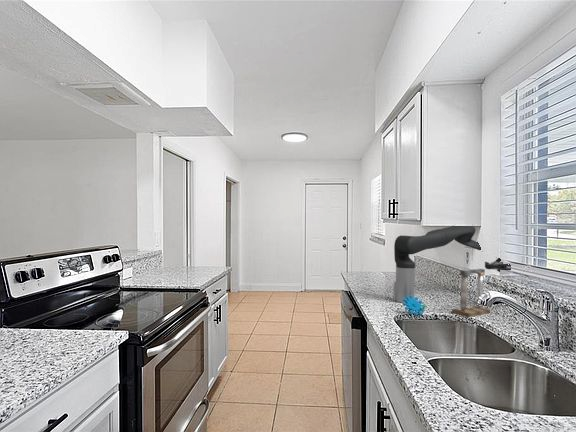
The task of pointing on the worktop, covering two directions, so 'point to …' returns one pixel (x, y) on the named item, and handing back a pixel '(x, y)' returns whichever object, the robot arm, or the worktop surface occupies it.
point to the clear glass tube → (480, 284)
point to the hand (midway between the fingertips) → (487, 266)
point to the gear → (414, 305)
